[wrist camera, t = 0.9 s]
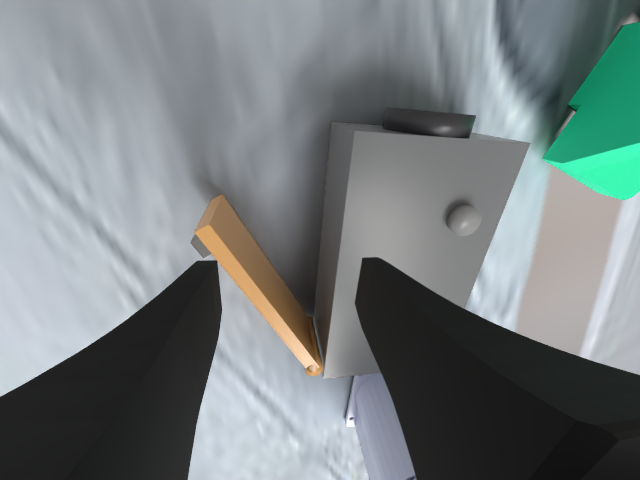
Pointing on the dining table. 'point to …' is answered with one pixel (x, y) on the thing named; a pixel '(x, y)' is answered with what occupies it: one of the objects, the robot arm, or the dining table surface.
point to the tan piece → (257, 280)
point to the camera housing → (405, 216)
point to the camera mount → (606, 123)
